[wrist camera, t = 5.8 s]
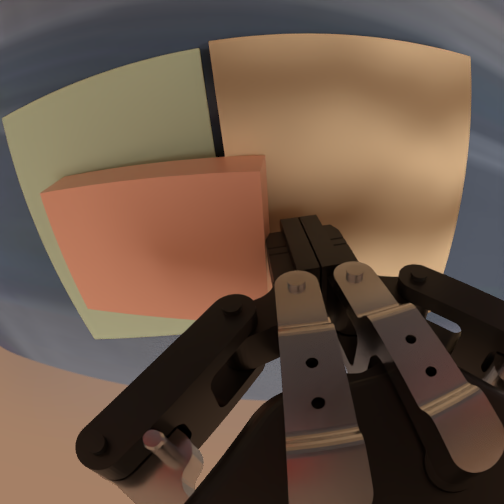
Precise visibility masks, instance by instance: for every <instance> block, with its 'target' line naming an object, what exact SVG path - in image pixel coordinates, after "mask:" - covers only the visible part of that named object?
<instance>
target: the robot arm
mask: <svg viewBox="0 0 504 504" xmlns="http://www.w3.org/2000/svg"><path fill="white" fill-rule="evenodd" d="M266 249H267V257H268V265H269V272H270V277H271V282H272V289H271V290H270V291H269V292H268V293H267V294H266V295H264V296H262V297H260V298H258V299H255V300H252V299H251V298H250V297H248V296H246V295H242V294H231V295H227V296H224V297H222V298H220V299H218V300H217V301H216V302H214V303H213V304H212V305H211V306H210V307H209V308H208V309H207V310H206V311H205V312H204V313H203V314H202V315H201V316H200V317H199V318H198V319H197V320H196V321H195V322H194V323H193V324H192V325H191V326H190V327H189V328H188V329H187V330H186V331H185V332H184V333H183V334H182V335H181V336H180V337H178V338H177V339H176V340H175V341H174V342H173V343H172V344H171V345H170V346H169V347H168V348H167V349H166V350H165V351H164V352H163V353H162V354H161V355H160V356H159V357H158V358H157V359H156V360H155V361H154V362H153V363H152V364H151V365H150V366H148V367H147V368H146V369H145V370H144V371H143V372H142V373H141V374H140V375H139V376H138V377H137V378H136V379H135V380H134V381H133V382H132V383H131V384H130V385H129V386H128V387H127V388H126V389H125V390H124V391H122V392H121V394H119V395H118V396H117V397H116V398H115V399H114V400H113V401H112V402H111V403H110V404H109V405H108V406H107V407H106V408H105V409H104V410H103V411H102V412H100V414H98V415H97V416H96V417H95V418H94V419H93V420H92V421H91V422H90V423H89V424H88V425H87V426H86V427H85V428H84V429H83V430H82V431H81V432H80V434H79V435H78V437H77V440H76V454H77V457H78V459H79V460H80V462H81V463H82V464H83V465H84V466H86V467H88V468H89V469H91V470H92V471H94V472H96V473H98V474H99V475H100V476H101V477H102V478H104V479H106V480H108V481H110V482H112V483H113V484H115V485H117V486H118V487H119V488H120V489H121V490H122V491H123V492H124V493H125V494H126V495H127V496H128V497H129V498H130V499H131V500H132V501H133V502H134V503H135V504H504V301H503V300H501V299H499V298H496V297H494V296H492V295H490V294H488V293H485V292H483V291H481V290H479V289H477V288H474V287H472V286H470V285H468V284H465V283H463V282H461V281H458V280H456V279H454V278H451V277H449V276H447V275H444V274H442V273H440V272H437V271H435V270H432V269H430V268H428V267H425V266H422V265H417V264H411V265H406V266H404V267H403V268H401V270H400V271H399V275H398V277H391V276H379V275H377V274H376V273H375V271H374V270H373V269H372V268H371V267H370V266H368V265H367V264H364V263H361V262H359V261H358V260H357V258H356V257H355V255H354V253H353V252H352V250H351V248H350V247H349V245H348V244H347V242H346V240H345V239H344V238H343V236H342V234H341V233H340V231H339V230H338V229H337V228H335V227H333V226H332V225H330V224H329V225H322V224H321V222H320V220H319V218H318V217H317V215H308V216H301V217H294V218H287V219H280V232H274V233H269V235H268V237H267V239H266ZM428 310H429V311H431V312H433V313H435V314H438V315H440V316H442V317H444V318H446V319H448V320H450V321H452V322H454V323H456V324H458V325H459V326H460V328H461V332H459V333H454V332H451V331H449V330H447V329H445V328H443V327H441V326H439V325H437V324H434V323H432V322H430V321H428V320H426V316H427V313H428ZM328 317H329V318H330V320H331V323H329V321H328ZM279 357H280V363H281V377H282V391H283V392H282V393H280V394H278V395H276V396H274V397H272V398H271V399H269V400H268V401H267V402H265V403H264V404H263V405H262V406H261V407H260V408H259V409H258V410H257V411H256V412H255V413H254V414H253V415H252V417H251V418H250V420H249V421H248V422H247V424H246V425H245V426H244V428H243V429H242V431H241V432H240V433H239V435H238V436H237V438H236V439H235V440H234V442H233V443H232V444H231V446H230V447H229V449H227V451H226V452H225V454H224V455H223V456H222V457H221V459H220V460H219V461H218V463H217V464H216V465H215V467H214V468H213V469H212V470H211V471H210V473H209V474H208V475H207V476H206V478H205V479H204V480H203V481H202V483H201V484H200V485H199V486H198V487H197V489H196V490H195V483H196V480H197V478H198V476H199V475H200V473H201V471H202V469H203V457H202V454H201V453H200V451H199V450H198V449H199V448H200V447H201V446H202V445H203V443H204V442H205V441H206V440H207V439H208V437H209V436H210V435H211V434H212V433H213V432H214V430H215V429H216V428H217V427H218V426H219V424H220V423H221V422H222V421H223V420H224V419H225V417H226V416H227V415H228V414H229V412H230V411H231V410H232V409H233V408H234V406H235V405H236V404H237V403H238V401H239V400H240V399H241V398H242V396H243V395H244V394H245V393H246V391H247V390H248V389H249V388H250V386H251V385H252V384H253V382H254V381H255V380H256V378H257V377H258V376H259V375H260V373H261V372H262V371H263V369H264V367H265V363H268V362H270V361H272V360H274V359H276V358H279ZM345 367H346V369H347V372H348V373H346V370H345Z"/></svg>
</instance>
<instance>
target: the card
mask: <svg viewBox="0 0 504 504" xmlns="http://www.w3.org/2000/svg"><path fill="white" fill-rule="evenodd" d="M40 196H41V199H42V202H43V205H44V208H45V211H46V214H47V217H48V219H49V222H50V225H51V227H52V230H53V233H54V235H55V238H56V240H57V243H58V245H59V248H60V250H61V253H62V255H63V257H64V260H65V262H66V264H67V266H68V269H69V271H70V273H71V275H72V277H73V280H74V282H75V284H76V286H77V288H78V290H79V292H80V294H81V296H82V298H83V300H84V302H85V304H86V306H87V308H88V309H92V310H100V311H108V312H116V313H125V314H134V315H143V316H153V317H164V318H176V319H189V320H197V319H198V318H199V317H200V316H201V315H202V314H203V313H204V312H205V311H206V310H207V309H208V308H209V307H210V306H211V305H212V304H213V303H214V302H216V301H217V300H218V299H220V298H222V297H224V296H227V295H231V294H242V295H246V296H248V297H250V298H251V299H252V300H255V299H258V298H260V297H262V296H264V295H266V294H267V293H268V292H269V291H270V290H271V289H272V282H271V277H270V272H269V265H268V257H267V249H266V239H267V237H268V235H269V233H270V230H269V211H268V193H267V176H266V159H265V155H252V156H230V157H214V158H200V159H188V160H177V161H167V162H157V163H149V164H141V165H133V166H125V167H118V168H111V169H105V170H99V171H93V172H87V173H81V174H75V175H70V176H65V177H63V178H61V179H60V180H58V181H57V182H55V183H54V184H52V185H51V186H49V187H48V188H47V189H45V190H44V191H42V192H41V193H40Z"/></svg>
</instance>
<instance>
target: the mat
mask: <svg viewBox="0 0 504 504" xmlns="http://www.w3.org/2000/svg"><path fill="white" fill-rule="evenodd" d="M2 120H3V125H4V129H5V133H6V138H7V142H8V145H9V149H10V153H11V156H12V160H13V163H14V167H15V170H16V173H17V176H18V179H19V182H20V185H21V188H22V191H23V194H24V197H25V200H26V202H27V205H28V208H29V210H30V213H31V216H32V218H33V221H34V223H35V226H36V228H37V230H38V233H39V235H40V237H41V240H42V242H43V244H44V246H45V249H46V251H47V253H48V255H49V257H50V259H51V262H52V264H53V266H54V268H55V270H56V272H57V274H58V276H59V278H60V280H61V282H62V284H63V285H64V287H65V289H66V291H67V293H68V295H69V297H70V298H71V300H72V302H73V304H74V306H75V307H76V309H77V311H78V313H79V314H80V316H81V318H82V319H83V321H84V323H85V324H86V326H87V328H88V329H89V331H90V332H91V334H92V336H93V337H94V339H114V338H134V337H151V336H165V335H177V334H183V333H184V332H185V331H186V330H187V329H188V328H189V327H190V326H191V325H192V324H193V323H194V322H195V321H196V320H189V319H176V318H164V317H153V316H143V315H134V314H125V313H116V312H108V311H100V310H92V309H88V308H87V306H86V304H85V302H84V300H83V298H82V296H81V294H80V292H79V290H78V288H77V286H76V284H75V282H74V280H73V277H72V275H71V273H70V271H69V269H68V266H67V264H66V262H65V260H64V257H63V255H62V253H61V250H60V248H59V245H58V243H57V240H56V238H55V235H54V233H53V230H52V227H51V225H50V222H49V219H48V217H47V214H46V211H45V208H44V205H43V202H42V199H41V196H40V193H41V192H42V191H44V190H45V189H47V188H48V187H49V186H51V185H52V184H54V183H55V182H57V181H58V180H60V179H61V178H63V177H65V176H70V175H75V174H81V173H87V172H93V171H99V170H105V169H111V168H118V167H125V166H133V165H141V164H149V163H157V162H167V161H177V160H188V159H200V158H214V157H216V153H215V147H214V141H213V134H212V128H211V122H210V115H209V109H208V102H207V95H206V89H205V82H204V75H203V68H202V61H201V54H200V48H196V49H191V50H186V51H181V52H176V53H171V54H167V55H163V56H158V57H154V58H150V59H147V60H143V61H139V62H136V63H132V64H129V65H125V66H122V67H119V68H116V69H112V70H109V71H106V72H103V73H101V74H98V75H95V76H92V77H89V78H87V79H84V80H81V81H79V82H76V83H74V84H71V85H69V86H66V87H64V88H62V89H59V90H57V91H55V92H53V93H50V94H48V95H46V96H44V97H42V98H40V99H38V100H35V101H33V102H31V103H29V104H27V105H25V106H24V107H22V108H20V109H18V110H16V111H14V112H12V113H10V114H9V115H7V116H5V117H3V118H2Z"/></svg>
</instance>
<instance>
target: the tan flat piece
mask: <svg viewBox="0 0 504 504" xmlns="http://www.w3.org/2000/svg"><path fill="white" fill-rule="evenodd" d="M208 42H209V49H210V56H211V64H212V71H213V78H214V85H215V92H216V99H217V106H218V113H219V119H220V126H221V133H222V140H223V146H224V153H225V157H230V156H252V155H265V159H266V176H267V193H268V211H269V230H270V233H274V232H280V219H287V218H294V217H301V216H308V215H317V217H318V218H319V220H320V222H321V224H322V225H329V224H330V225H332V226H333V227H335V228H337V229H338V230H339V231H340V233H341V234H342V236H343V238H344V239H345V240H346V242H347V244H348V245H349V247H350V248H351V250H352V252H353V253H354V255H355V257H356V258H357V260H358V261H359V262H361V263H364V264H367V265H368V266H370V267H371V268H372V269H373V270H374V271H375V273H376V274H377V275H379V276H391V277H398V275H399V271H400V270H401V268H403V267H404V266H406V265H411V264H417V265H422V266H425V267H428V268H430V269H432V270H435V271H437V272H440V273H442V274H443V273H444V269H445V266H446V262H447V259H448V255H449V251H450V248H451V244H452V240H453V235H454V231H455V227H456V222H457V218H458V213H459V208H460V202H461V197H462V191H463V185H464V178H465V171H466V164H467V155H468V145H469V134H470V118H471V61H470V56H466V55H463V54H459V53H456V52H452V51H448V50H444V49H440V48H435V47H431V46H426V45H421V44H416V43H410V42H404V41H398V40H392V39H384V38H376V37H367V36H355V35H341V34H273V35H258V36H247V37H237V38H229V39H221V40H214V41H208ZM428 312H431V311H429V310H428ZM328 321H329V323H331V320H330V318H329V317H328Z"/></svg>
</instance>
